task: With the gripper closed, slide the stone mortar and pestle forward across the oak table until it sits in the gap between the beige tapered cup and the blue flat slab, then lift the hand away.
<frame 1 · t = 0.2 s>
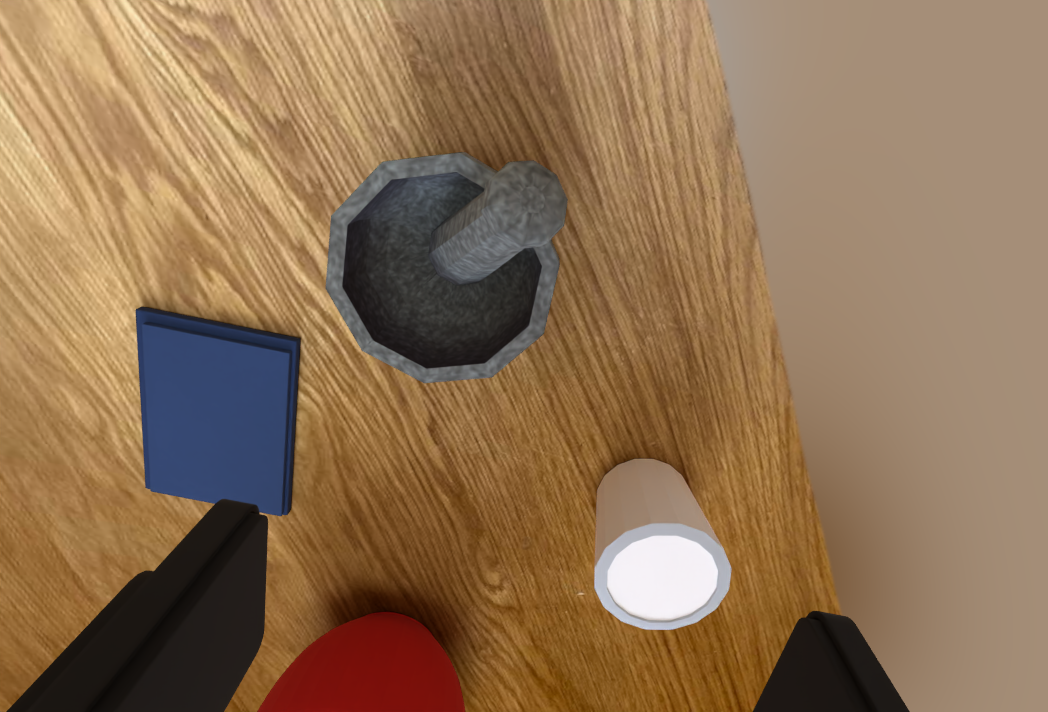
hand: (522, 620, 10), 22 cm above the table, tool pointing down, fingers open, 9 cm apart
beige tapered cup: (641, 495, 35), on the table
blue flat slab: (221, 414, 34), on the table
ceramic cup: (400, 664, 41), on the table
mortar and pestle: (474, 236, 30), on the table
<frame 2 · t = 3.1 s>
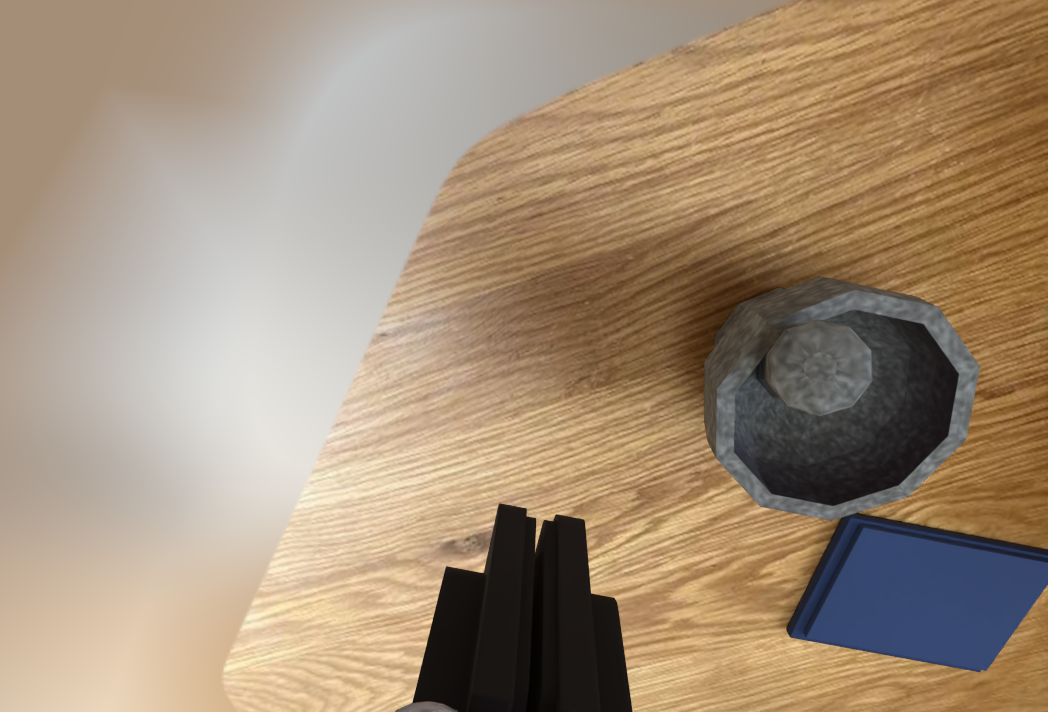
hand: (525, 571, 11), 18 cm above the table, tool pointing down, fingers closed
blue flat slab: (913, 591, 33), on the table
mortar and pestle: (766, 337, 28), on the table
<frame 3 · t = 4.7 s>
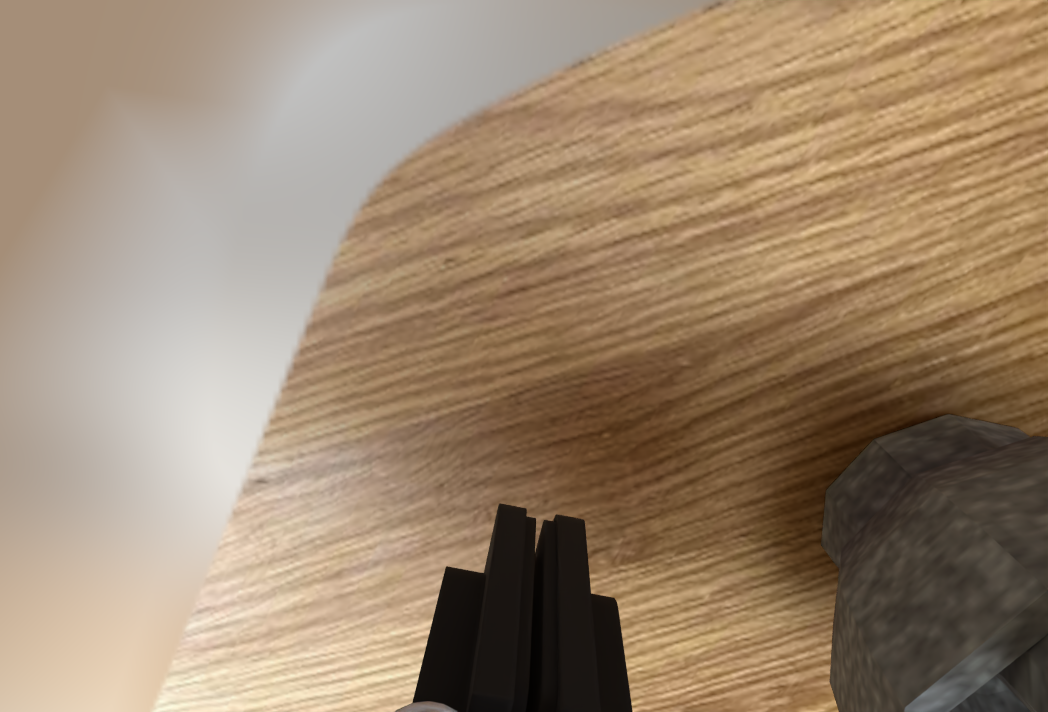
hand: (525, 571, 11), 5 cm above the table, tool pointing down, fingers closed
mortar and pestle: (915, 491, 16), on the table
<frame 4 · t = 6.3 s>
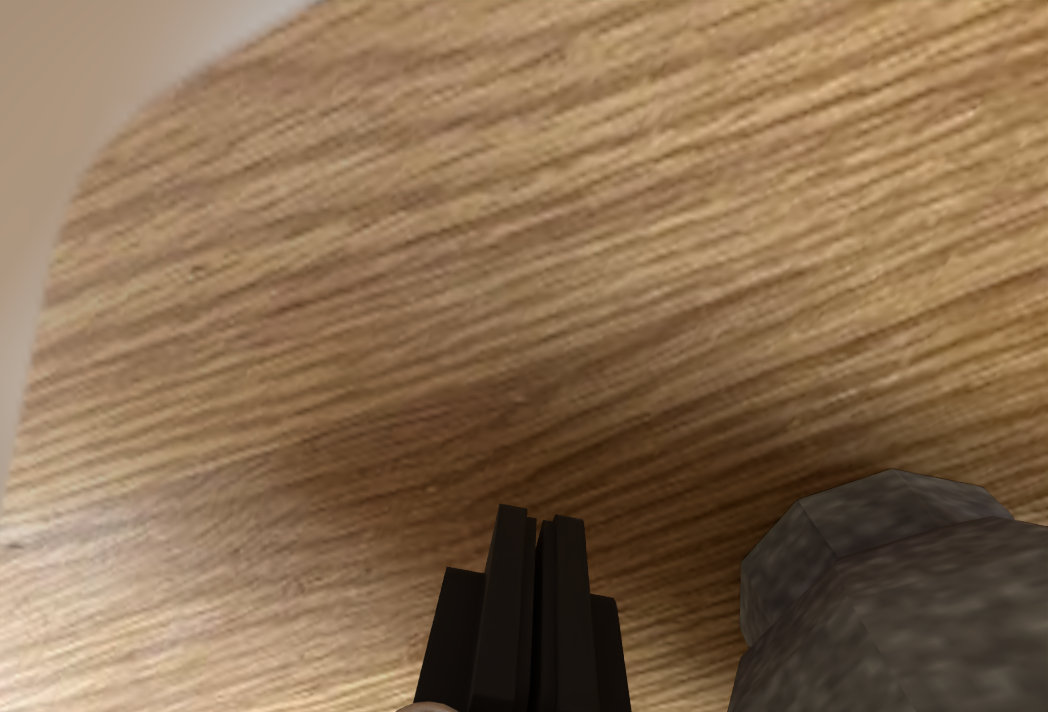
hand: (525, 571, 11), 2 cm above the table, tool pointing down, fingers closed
mortar and pestle: (855, 563, 13), on the table, touching gripper
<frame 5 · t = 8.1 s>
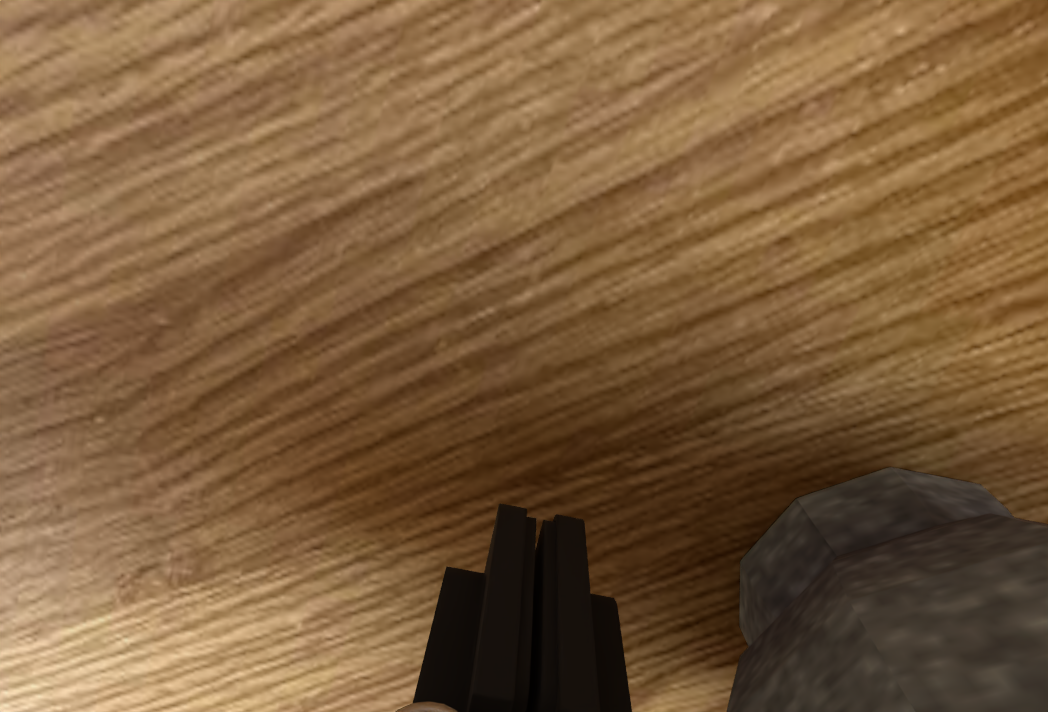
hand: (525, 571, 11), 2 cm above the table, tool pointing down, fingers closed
mortar and pestle: (854, 561, 13), on the table, touching gripper
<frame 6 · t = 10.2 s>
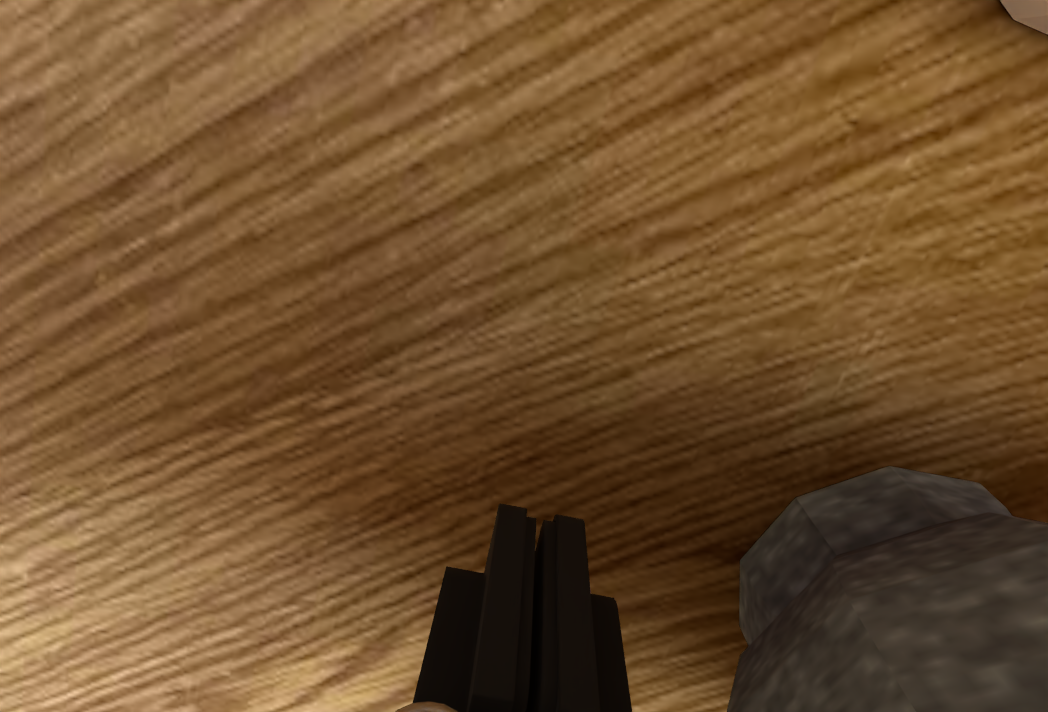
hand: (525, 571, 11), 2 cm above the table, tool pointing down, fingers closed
mortar and pestle: (853, 559, 13), on the table, touching gripper
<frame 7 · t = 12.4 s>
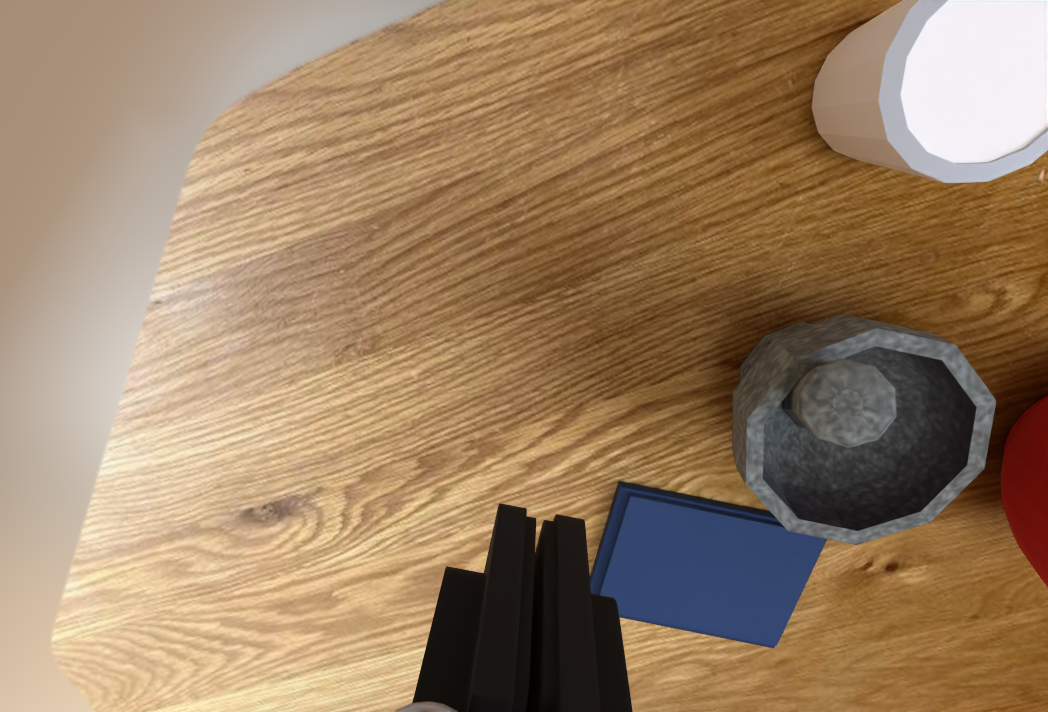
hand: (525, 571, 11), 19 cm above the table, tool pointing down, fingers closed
beige tapered cup: (876, 92, 25), on the table
blue flat slab: (698, 564, 34), on the table
mortar and pestle: (789, 368, 29), on the table
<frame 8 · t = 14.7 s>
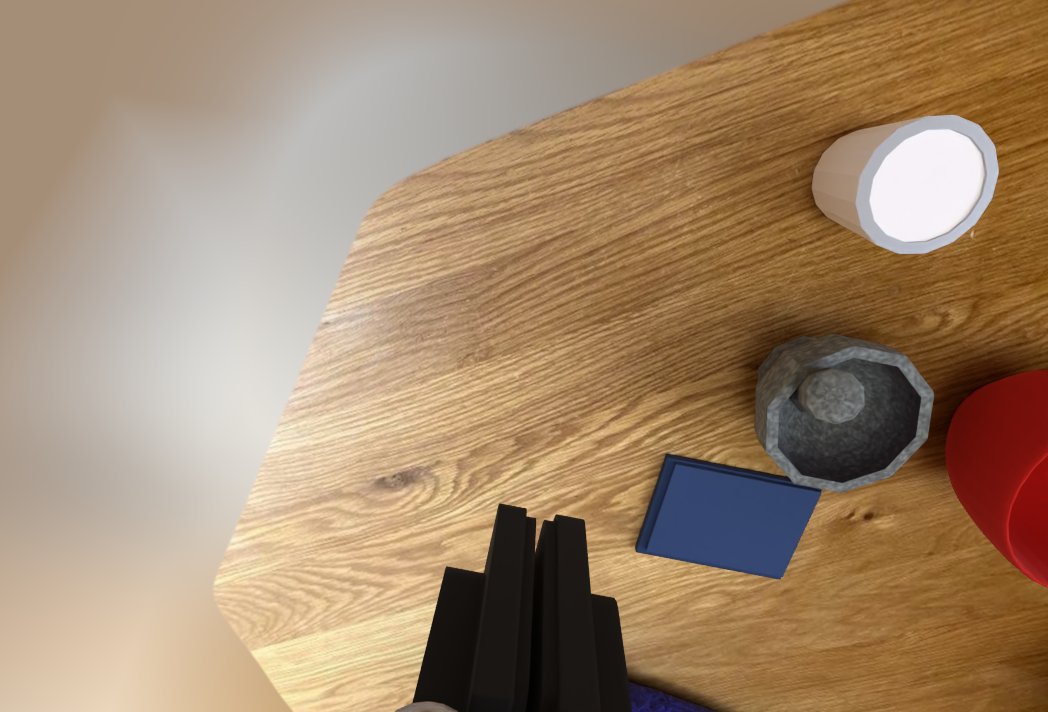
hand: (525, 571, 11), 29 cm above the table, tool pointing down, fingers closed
beige tapered cup: (856, 177, 35), on the table
blue flat slab: (724, 516, 45), on the table
ceramic cup: (1025, 415, 41), on the table
mortar and pestle: (794, 369, 40), on the table
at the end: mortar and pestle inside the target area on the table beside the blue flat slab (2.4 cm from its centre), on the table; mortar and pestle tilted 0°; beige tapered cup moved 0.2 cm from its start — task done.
